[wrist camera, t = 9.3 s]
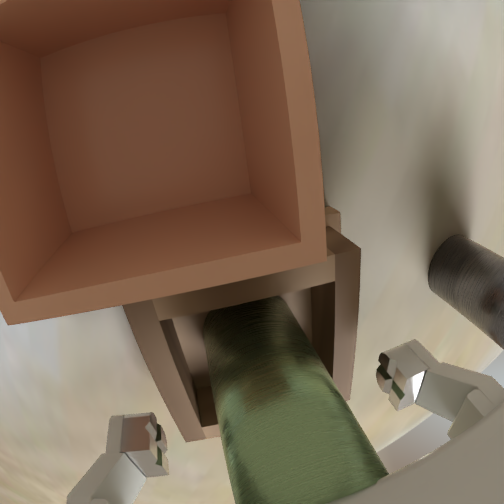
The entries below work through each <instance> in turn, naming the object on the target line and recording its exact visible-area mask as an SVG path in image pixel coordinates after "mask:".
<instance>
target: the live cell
mask: <svg viewBox="0 0 504 504" xmlns="http://www.w3.org/2000/svg"><path fill="white" fill-rule="evenodd" d="M203 337H204V344H205V350H206V357H207V363H208V369H209V375H210V381H211V387H212V393H213V398H214V404H215V409H216V415H217V420H218V425H219V430H220V435H221V440H222V445H223V450H224V455H225V460H226V464H227V469H228V473H229V478H230V482H231V487H232V491H233V495H234V500H235V504H326V503H329V502H332V501H334V500H337V499H340V498H342V497H345V496H348V495H350V494H353V493H355V492H358V491H360V490H362V489H365V488H367V487H369V486H372V485H374V484H376V483H377V481H378V480H379V479H381V478H383V477H385V476H387V475H389V473H388V472H387V470H386V468H385V467H384V465H383V463H382V461H381V460H380V458H379V456H378V455H377V453H376V451H375V450H374V448H373V446H372V445H371V443H370V441H369V440H368V438H367V436H366V435H365V433H364V431H363V430H362V428H361V426H360V425H359V423H358V421H357V420H356V418H355V416H354V414H353V413H352V411H351V409H350V408H349V406H348V404H347V403H346V401H345V399H344V398H343V396H342V394H341V393H340V391H339V389H338V388H337V386H336V384H335V383H334V381H333V379H332V378H331V376H330V374H329V373H328V371H327V369H326V368H325V366H324V364H323V363H322V361H321V359H320V358H319V356H318V354H317V353H316V351H315V349H314V348H313V346H312V344H311V343H310V341H309V339H308V338H307V336H306V334H305V333H304V331H303V329H302V328H301V326H300V324H299V323H298V321H297V319H296V318H295V316H294V314H293V313H292V311H291V309H290V308H289V306H288V304H287V303H286V302H285V301H284V300H283V299H282V298H281V297H280V296H278V295H277V296H273V297H269V298H264V299H260V300H256V301H251V302H247V303H242V304H238V305H233V306H229V307H224V308H220V309H215V310H210V311H209V313H208V314H207V316H206V318H205V321H204V325H203Z"/></svg>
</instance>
